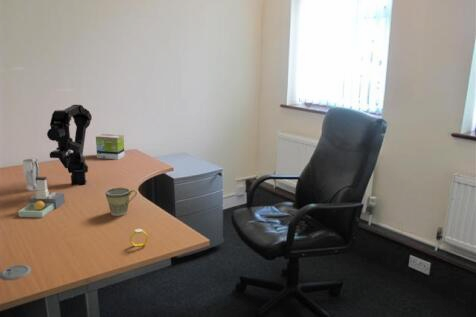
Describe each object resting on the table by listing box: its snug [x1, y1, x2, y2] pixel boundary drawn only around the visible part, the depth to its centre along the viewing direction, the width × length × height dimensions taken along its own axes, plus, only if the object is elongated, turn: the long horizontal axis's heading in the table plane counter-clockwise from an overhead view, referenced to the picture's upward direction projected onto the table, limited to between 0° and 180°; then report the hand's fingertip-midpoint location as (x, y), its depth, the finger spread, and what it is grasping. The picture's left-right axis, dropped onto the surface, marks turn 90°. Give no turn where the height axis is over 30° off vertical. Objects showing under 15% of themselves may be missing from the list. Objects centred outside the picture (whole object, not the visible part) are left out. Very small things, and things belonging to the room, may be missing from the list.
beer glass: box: [22, 158, 40, 192], centre depth 210 cm, size 7×7×15 cm
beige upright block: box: [35, 176, 50, 199], centre depth 184 cm, size 2×4×9 cm, turn 86°
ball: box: [34, 201, 45, 210], centre depth 183 cm, size 4×4×4 cm
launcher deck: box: [28, 191, 66, 210], centre depth 189 cm, size 8×12×6 cm, turn 86°
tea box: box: [95, 133, 125, 161], centre depth 275 cm, size 15×10×15 cm, turn 80°
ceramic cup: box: [105, 187, 137, 217], centre depth 180 cm, size 13×10×10 cm
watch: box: [129, 228, 149, 248], centre depth 150 cm, size 6×3×6 cm, turn 108°
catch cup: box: [17, 203, 55, 218], centre depth 181 cm, size 10×10×2 cm
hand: (66, 168), depth 206 cm, fingers closed
